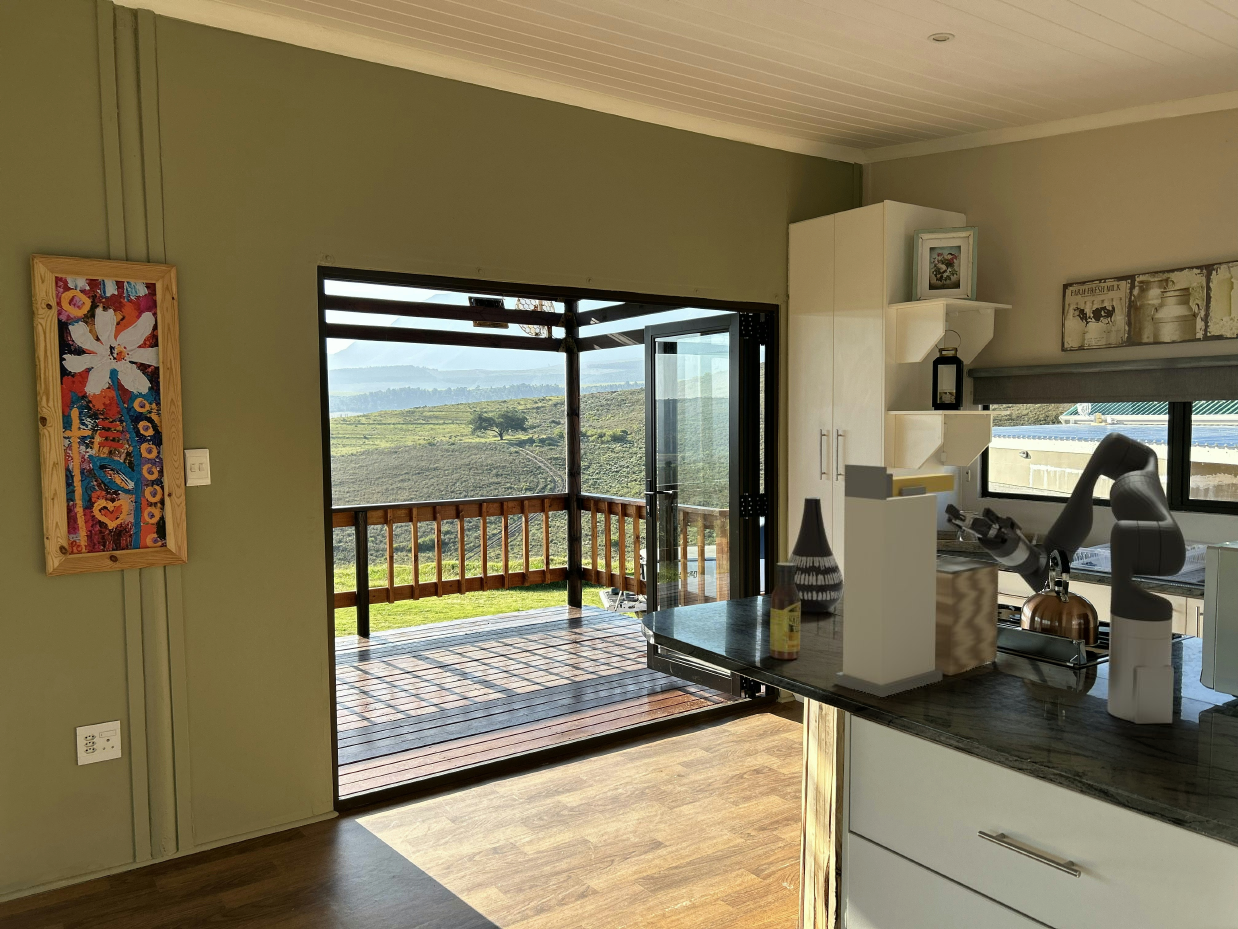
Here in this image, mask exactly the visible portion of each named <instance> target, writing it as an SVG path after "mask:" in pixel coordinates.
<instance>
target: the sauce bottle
mask: <svg viewBox="0 0 1238 929" xmlns="http://www.w3.org/2000/svg"><path fill="white" fill-rule="evenodd" d="M795 571H796V564H794V563H787V562H777V563H776V573H777V574H776V577H777V578H776V586H775V588H774V589H773V591H772V592H771V600H770V601H771V605H770V616H769V617H770V620H769V621H770V622H769V625H770V626H769V627H770V628H769V630H770V631H769V634H770V635H769V636H770V637H769V648H770V655H771V657H772V658H774V659H779V660H794V659H797V658H799V655H800V650H801V612H800V610H801V601H800V598H799V595H798V592H797V589H796V586H795Z"/></svg>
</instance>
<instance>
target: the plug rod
mask: <svg viewBox="0 0 1238 929" xmlns="http://www.w3.org/2000/svg"><path fill="white" fill-rule="evenodd" d="M920 486H926V494H935V493H940V492H941V493H942V492H952V491H955V474H953V473H952V474H951V473H931V474H919V475H909V476H908V475H907V476H895V477H894V473H890V472H889V473H888V472H887V497H886V498H889V497H894V496H900V495H901V488H909V487H920Z"/></svg>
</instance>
